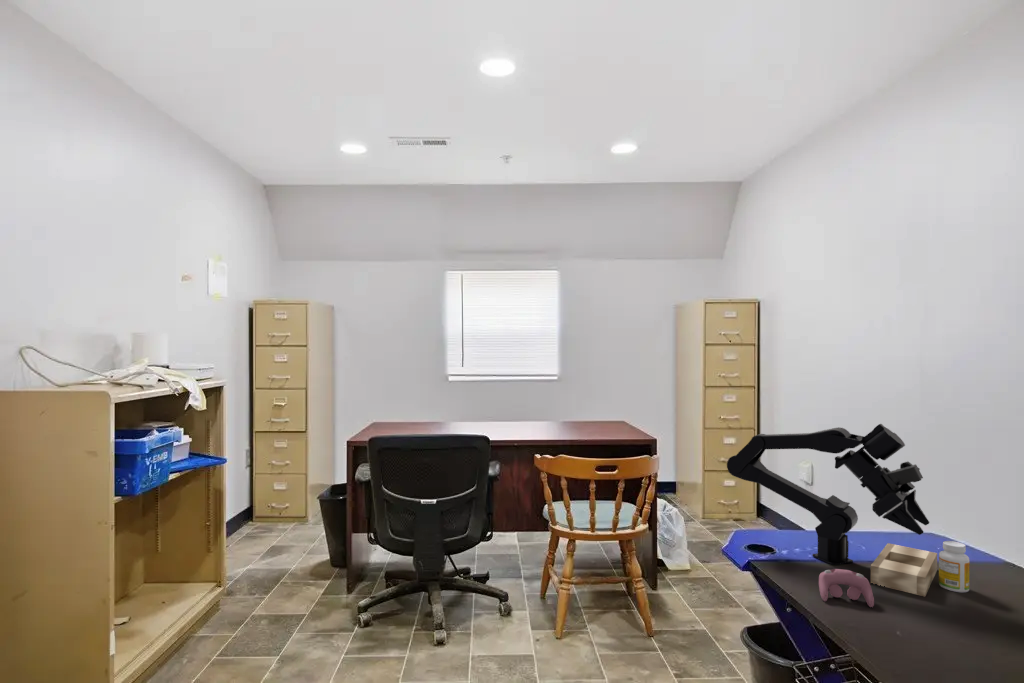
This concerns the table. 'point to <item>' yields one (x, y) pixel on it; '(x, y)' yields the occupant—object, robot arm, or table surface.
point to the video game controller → (846, 577)
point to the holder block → (904, 569)
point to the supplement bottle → (954, 567)
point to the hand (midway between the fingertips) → (924, 528)
